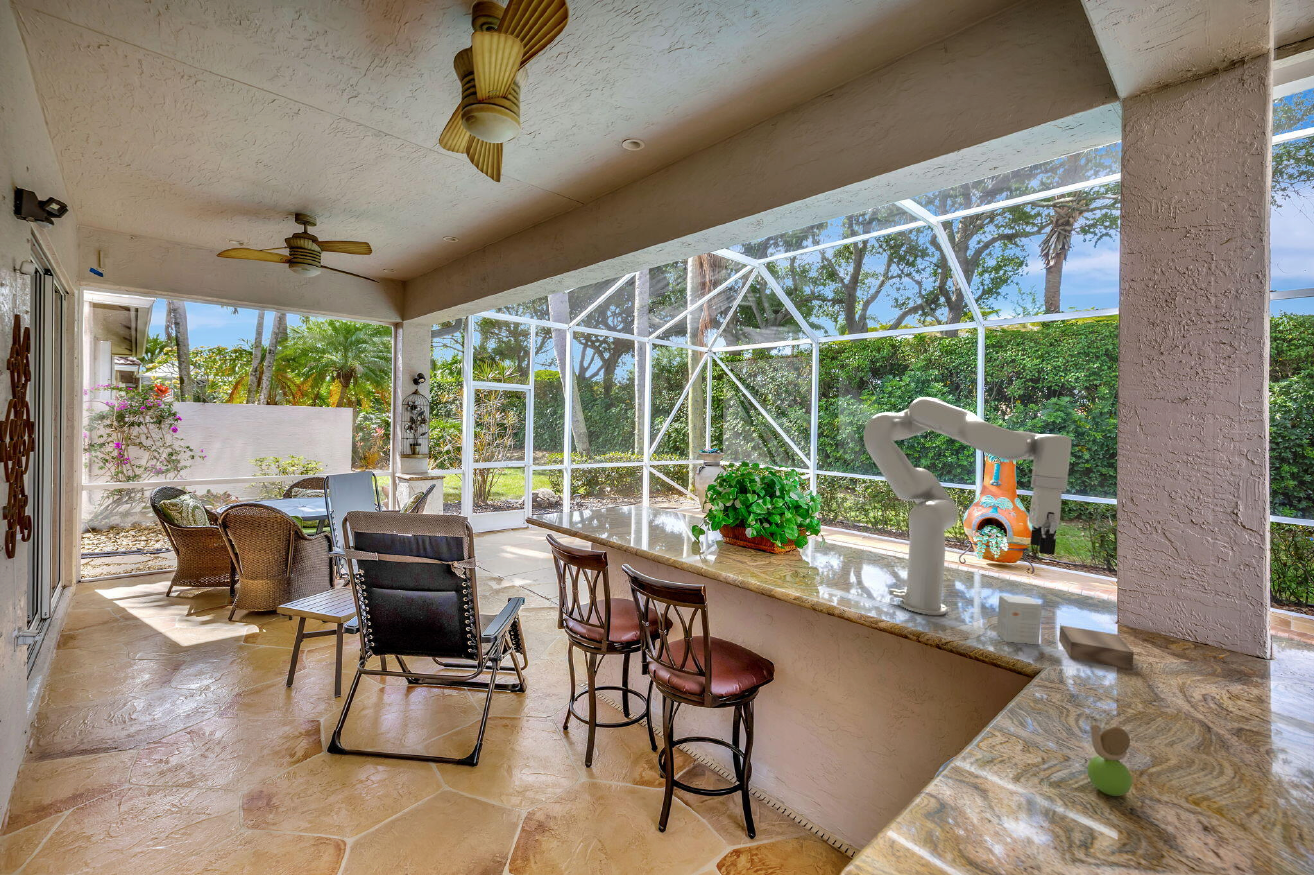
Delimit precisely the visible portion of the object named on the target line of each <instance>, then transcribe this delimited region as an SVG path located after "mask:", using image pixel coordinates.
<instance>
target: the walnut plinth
mask: <svg viewBox="0 0 1314 875" xmlns="http://www.w3.org/2000/svg"><path fill="white" fill-rule="evenodd" d="M1058 637H1059V638H1058V641H1059V643H1060V644H1061V647H1062V648H1063V650H1064V651H1065V652H1066V654H1067V656H1068V658H1070V659H1073V660H1079V661H1084V662H1088V663H1089V662H1090V663H1094V664H1095V663H1096V664H1101V665H1107V666H1112V667H1118V668H1123V669H1128V670H1133V666H1134V654H1135V652H1134V651H1133V649H1131V648H1130V647H1129V646H1128V644H1127V643H1126V642H1125V641H1124V640H1123V639H1122V637H1121V636H1120V635H1119V634H1118V633H1111V632H1104V631H1099V630H1098V631H1097V630H1092V629H1085V628H1079V627H1073V626H1068V625H1062V624H1061V625H1059V636H1058Z"/></svg>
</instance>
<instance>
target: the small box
mask: <svg viewBox="0 0 1314 875" xmlns="http://www.w3.org/2000/svg"><path fill="white" fill-rule="evenodd" d="M1042 609H1043V604H1042V603H1040V602H1039V601H1037V600H1035V599H1034V598H1032V597H1029V596H1016V595H1000V594H999V597H998V608H997V618H996V619H997V623H996V635H997V634H998V635H999V636H998V635H997V636H998V637H1000V639H1002V640H1003V641H1004V642H1005V643H1011V642H1014V643H1013V644H1025V643H1027V645H1039V644H1040V633H1041V622H1042V621H1041V619H1042Z"/></svg>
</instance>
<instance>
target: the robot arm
mask: <svg viewBox="0 0 1314 875" xmlns="http://www.w3.org/2000/svg"><path fill="white" fill-rule="evenodd" d="M928 431H932V432H934V433H938V434H940V435H944V436H946V437H949V438H951V439H953V440H956V441H958V442H960V443H962V444H965V445H967V446H969V447H971V448H974V449H976V450H978V451H981V452H982V453H986V454H988V455H991V456H994V457H997V458H999V459H1002V460H1005V461H1011V462H1012V461H1023V460H1033V463H1032V472H1031V482H1030V483H1031V484H1030V487H1031V488H1033V491H1032V495H1031V501H1030V508H1029V513H1028V522H1029V524H1031V525H1032V527H1031V528H1032V529H1031V533H1030V545H1031V546H1039V548H1038V553H1039V554H1041V555H1042V554H1043V555H1050V556H1054V555H1055V553H1056V544H1057V530H1059V526H1060V522H1061V521H1060V520H1061V512H1062V511H1061V510H1062V500H1063V499H1062V492H1067V489H1068V487H1067V486H1068V479H1069V478H1068V477H1069V468H1070V461H1071V451H1072V439H1071V437H1069V436H1067V435H1063V434H1053V433H1052V434H1050V433H1049V434H1048V433H1043V434H1040V433H1034V432H1029V431H1025V430H1022V431H1021V430H1010V429H1007V428H1004V427H1001V426H998V425H996V424H994V423H993V424H992V423H990V422H988V421H985V420H983V419H981V418H979V417H978V416H977V414H975V413H974V412H972V411H970V410H967V409H963V408H961V407H957V406H954V405H951V404H950V403H949V404H948V403H946V402H945V401H944V400H942V399H941V398H938V397H937V398H936V397H928V396H923V397H922V396H921V397H918V398H916V399H914V400H913V401H912V402H911V403H910V404H909V407H908V408H907V409H905V410H903V411H900V412H880V413H877V414H875V415H873V416H872V417H871V418H870V419H869V420H868V422H866V425H865V428H864V432H863V443H864V446H865V449H866V451H867V452H868V455H869V457H870V458H871V460H873V462H874V464H875V465H876V466H877V468H878V469H879V471H880V473H881V474H882V475H883V477H884V478H885V480H886V483H888V485H889V487H890V489H892V491H893V492H894V494H895V495H896V497H898V499H900V500H902V501H905V502H911V501H914V502H915V505H914V506H913V507H912V509H911V510H910V512H909V514H908V530H909V533H908V534H909V543H908V544H909V546H908V563H907V575H906V576H907V577H906V587H905V588H904V589H901V590H900V589H894V588H889V596H892V597H893V598H898V599H899V605H900V607H902V608H903V607H904V608H903V609H905V608H906V609H905V610H907V609H910V610H912V611H915V612H918V613H917V614H919V613H924V614H923V615H925V614H928V615H927V616H942V615H945V614H947V612H948V608H947V606H946V605H944V604H943V603H942V600H943V599H942V598H943V588H944V587H943V585H944V574H945V573H944V572H945V558H946V539H945V531H947V530H949V529H952V528H953V527H954V526H956V524H957V522H958V520H959V511H958V508H957V506H956V504H955V502H954V501H953V499H952V498H951V496H950V495H949V494H948V492H947V491H946V490H945V488H944V487H943V485H942V484H941V483H940V481H939V480H938V478H937V477H936V475H934V474H933V473H932V472H931V471H929V470H928V469H926V468H923V467H922V468H921V467H915V466H913V464H912V463H911V461H910V460H909V459H908V457H907V456H906V454H905V453H904V452H903V450H902V449H901V448H900V447H899V446H898V445H897V444H896V443H895V441H901V440H907V439H910V438H913V437H914V436H917V435H920V434H923V433H925V432H928ZM912 611H911V612H912ZM915 612H914V613H915Z"/></svg>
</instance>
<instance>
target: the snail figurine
mask: <svg viewBox="0 0 1314 875" xmlns="http://www.w3.org/2000/svg"><path fill="white" fill-rule="evenodd" d="M1089 718H1090V719H1091V720H1090V723H1091V724H1090V725H1089V729H1090V731H1091V734H1090V735H1091V736H1090V738H1091V743H1092V747H1093V749H1094V751H1095V754H1097V755H1096V756H1094V757H1092V758H1091V759H1090V761H1089V762H1088V764H1087V768H1086V769H1087V775H1088V778H1089V780H1090V782H1091V783H1092V785H1093V786H1094V787H1095V788H1096V789H1098V790H1099V791H1100V792H1102V793H1103V794H1105V795H1108V796H1113V797H1120V796H1124V795H1126V794H1127V793H1129V791H1130V790H1131V789H1132V787H1133V786H1132V785H1133V778H1132V775H1131V772H1130V771H1129V768H1127V766H1126V765H1125V764H1124V763H1123V762H1121V760H1122V759H1124V758H1125V757H1126V756H1127V755H1128V750H1129V747H1130V745H1131V739H1130V736H1129V733H1128V732H1127V731H1126V730H1125V729H1123V727H1120V726H1109V727H1106V728H1104V729H1103V730H1102V727H1101V726H1100V725H1099V724H1098V723H1097V722H1098V718H1097V717H1094V715H1092V714H1091V715H1090V716H1089ZM1092 721H1094V723H1093V722H1092Z"/></svg>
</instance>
